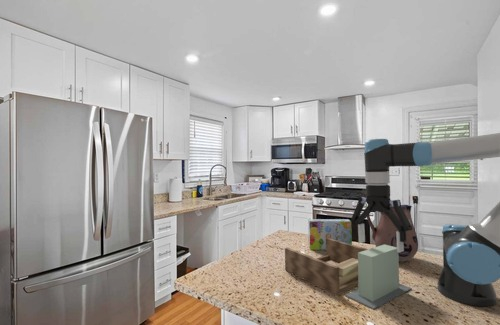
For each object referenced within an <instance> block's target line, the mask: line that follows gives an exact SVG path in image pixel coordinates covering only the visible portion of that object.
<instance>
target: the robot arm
mask: <svg viewBox="0 0 500 325" xmlns="http://www.w3.org/2000/svg"><path fill="white" fill-rule="evenodd" d="M363 156H364V171H365V172H364V174H365V184H366V185H365V196H359V197H358V198H357V205H356V207H355V208H354V212H353V214H352V216H351V219H350V221H351V222H354V223H355V225H356V227H355V228H356V233H358V234H357V235H358V243H360V244H362V243H365V242H366V234H365V231H366V230H365V223H364V222H365V220H367V216H368V215H370V214H371V213H372V212H379V213H381V212H384V213H385V214H386V215H387V216H388V217H389V219H390V220H391V221H392V223H393V224H394V225H395V226H396V228H397V229H398V230H399V231H396V239H397V252H399V253H400V252H403V251H404V243H403V242H405V241H406V231H409V230H412V226H411V224H410V222H409V220H408V218H407V217H406V215H405V213H404V211H403V209H402V207H401V205H402V202H401V199H395V200H394V199H393V200H392V199H391V185H390V183H391V180H390V178H391V177H390V167H393V168H394V167H419V168H420V167H424V166H425V167H428V166H431V165H433V164H444V163H452V162H453V163H454V162H462V161H472V160H481V159H482V160H483V159H485V160H486V159H494V158H500V132H498V133H489V134H484V135H483V134H482V135H476V136H475V135H474V136H469V137H461V138H456V139H448V140H441V141H434V142H428V141H426V142H425V141H423V142H422V141H421V142H420V141H416V142H407V143H396V144H395V143H394V144H393V143H392V144H391V143H389V140H388V139H387V138H375V139H374V138H372V139H368V140H366V141H365V142H364V155H363ZM365 204H367V206H366V207H365ZM391 204H392V206H393V207H394V209H395V212H396V213H397V215H398V217H399V219H400V220H399V219H398V217H397V216H396V215H395V214H394V212H393V210H392V209H391V208H390V205H391ZM364 207H365V208H364ZM363 208H364V211H363ZM441 233H442V254H443V255H442V256H443V257H442V263H443V267H442V270H441V272H440V276H439V277H438V280H437V291H438V292H439V293H440V294H441V295H443V296H445V297H446V298H448V299H451V300H454V301H456V302H459V303H462V304H464V305H470V306H476V307H492V306H495V305H497V298H498V297H497V293H496V291H495V289H494V285H493V283H496V282H497V281H499V280H500V201H498V202H497V204H495V206H494V207H492V208H491V210H490V211H489V212H488V213H487V214H486V215H485V216H484V217H483V218H482V219H481V220H480V221H479V222H478V223H468V224H467V225H465V224H451V223H449V224H448V223H447V224H444V225H443V226H442V231H441Z"/></svg>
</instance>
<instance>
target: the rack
mask: <svg viewBox="0 0 500 325" xmlns="http://www.w3.org/2000/svg"><path fill="white" fill-rule="evenodd" d="M368 249H369V248H365V247H362V246H358V245H354V244H352V245H351V244H348V243H344V242H341V241H337V240H334V239H330V238H326V250H325V255H323V256H320V257H319V256H318V257H314V256H310V255H308V254H306V253H303V252H301V251H298V250H295V249H292V248H290V247H285V248H284V264H285V265H284V266H285V268H284V270H285V271H287V272H289V273H291V274H293V275H294V276H297V277H299V278H301V279H303V280H305V281H307V282H308V283H311V284H313V285H315V286H317V287H319V288H321V289H322V290H323V289H324V291H326V292H329V293H331V294H333V295H335V296H338V295H341V294H343V293H345V292H348V291H349V290H352V289H354V288H356V287H357V288H358V280H355V281H353V282H350V283H348V284H345V285H343V286H341V287H339V267H337V266H335V265H336V264H332V263H329V262H326V261H328V260H332V261H334V262H337V263H341V262H344V261H346V260H349V259H351V258H354V259H358V253H359V252H362V251H365V250H368Z"/></svg>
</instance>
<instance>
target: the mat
mask: <svg viewBox="0 0 500 325" xmlns="http://www.w3.org/2000/svg"><path fill="white" fill-rule="evenodd" d="M411 290H412V287H410V286H407V285H403V284H401V283H399V288H398V289H396V290H394V291H392V292H390V293H388V294H386V295H384V296H382V297H380V298H378V299H376V300H375V301H371V300H368V299H366V298H364V297H362V296H360V295H359V294H358V288H357V289H355V290H353V291H351V292H349V293H346V294H344V295H345V297H346V298H348V299H351V300H353V301H355V302H357V303H359V304H361V305H363V306H365V307H368V308H369V309H371V310H376V309H378V308H379V307H382V306H383V305H384V304H387V303H389V302H390V301H392V300H394V299H396V298H398V297H400V296H403V294H406V293H408V292H409V291H411Z"/></svg>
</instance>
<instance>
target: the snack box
mask: <svg viewBox="0 0 500 325" xmlns="http://www.w3.org/2000/svg"><path fill="white" fill-rule="evenodd" d="M307 221H308V222H307V224H308V225H307V227H308V228H307V229H308V231H307V232H308V248H309V250H312V251H314V250H315V251H316V250H317V251H318V250H319V251H326V238H330V239H334V240H337V241H341V242H344V243H348V244H351V245H353V242H352V240H353V238H352V236H353V235H352V234H353V233H352V221H351V219H348V218H347V219H344V218H343V219H341V218H339V219H338V218H335V219H332V218H331V219H328V218H327V219H323V218H322V219H321V218H317V219H315V218H313V219H312V218H311V219H310V218H309V219H307Z"/></svg>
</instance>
